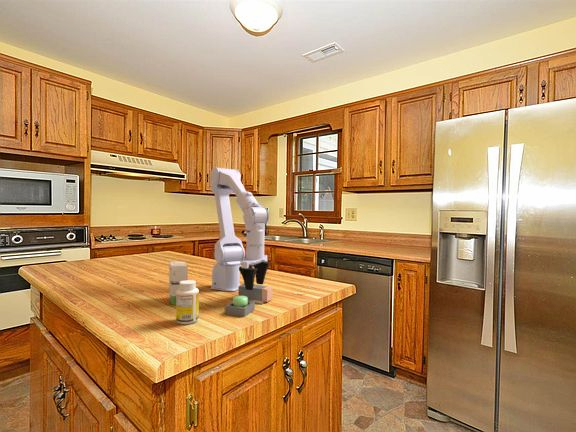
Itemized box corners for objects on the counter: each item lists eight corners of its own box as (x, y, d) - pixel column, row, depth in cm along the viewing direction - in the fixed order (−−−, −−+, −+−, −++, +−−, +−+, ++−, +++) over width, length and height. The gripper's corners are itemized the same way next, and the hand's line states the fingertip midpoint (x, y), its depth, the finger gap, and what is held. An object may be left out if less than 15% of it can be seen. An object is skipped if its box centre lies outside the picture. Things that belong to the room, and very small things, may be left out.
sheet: (237, 301, 97) (237, 299, 97) (248, 295, 104) (248, 293, 104) (262, 304, 94) (262, 303, 94) (271, 298, 101) (271, 296, 101)
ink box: (188, 303, 94) (188, 264, 93) (170, 305, 91) (171, 266, 91) (184, 296, 101) (184, 260, 101) (168, 297, 99) (168, 261, 99)
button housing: (225, 313, 85) (225, 305, 85) (236, 307, 91) (236, 299, 91) (244, 316, 83) (244, 308, 83) (254, 309, 89) (254, 302, 89)
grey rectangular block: (238, 297, 99) (238, 286, 99) (244, 294, 102) (244, 283, 102) (267, 301, 95) (267, 289, 95) (272, 298, 99) (272, 286, 99)
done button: (230, 308, 86) (230, 298, 86) (237, 304, 90) (237, 295, 89) (243, 310, 84) (243, 300, 84) (250, 306, 88) (250, 296, 88)
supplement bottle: (191, 315, 83) (191, 278, 83) (203, 320, 80) (203, 281, 79) (171, 321, 79) (172, 281, 79) (183, 327, 75) (183, 285, 75)
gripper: (256, 248, 90) (255, 294, 91) (275, 242, 104) (275, 282, 104) (235, 246, 93) (234, 291, 93) (256, 241, 106) (256, 280, 107)
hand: (254, 286), depth 99 cm, fingers open, 7 cm apart
